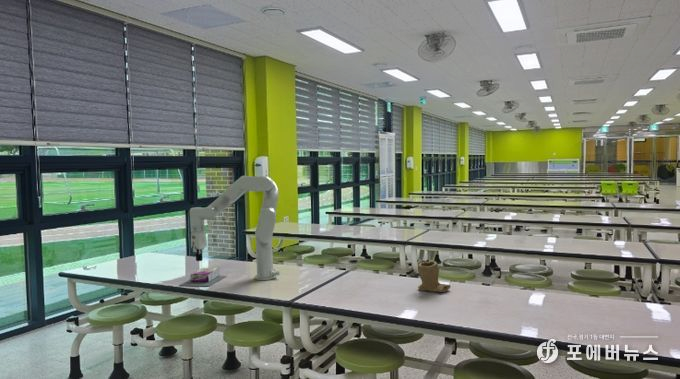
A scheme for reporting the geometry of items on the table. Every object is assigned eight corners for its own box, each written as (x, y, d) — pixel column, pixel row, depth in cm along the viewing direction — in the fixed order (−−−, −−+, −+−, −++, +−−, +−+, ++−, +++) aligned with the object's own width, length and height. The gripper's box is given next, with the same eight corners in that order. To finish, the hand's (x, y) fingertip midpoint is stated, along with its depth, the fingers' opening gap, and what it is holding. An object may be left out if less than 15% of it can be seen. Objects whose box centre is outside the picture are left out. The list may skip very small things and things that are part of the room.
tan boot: (413, 292, 228) (413, 262, 227) (423, 286, 238) (422, 258, 237) (442, 296, 219) (442, 265, 218) (451, 289, 229) (450, 260, 228)
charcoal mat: (226, 276, 271) (226, 275, 271) (208, 286, 250) (208, 286, 250) (199, 276, 275) (199, 275, 275) (179, 286, 254) (179, 285, 254)
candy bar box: (190, 273, 259) (202, 267, 275) (190, 282, 259) (203, 275, 275) (208, 273, 257) (220, 267, 273) (208, 282, 257) (220, 275, 273)
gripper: (196, 231, 249) (198, 263, 250) (210, 227, 263) (211, 257, 265) (184, 231, 250) (186, 263, 252) (198, 227, 265) (200, 257, 266)
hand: (199, 260), depth 258 cm, fingers closed
